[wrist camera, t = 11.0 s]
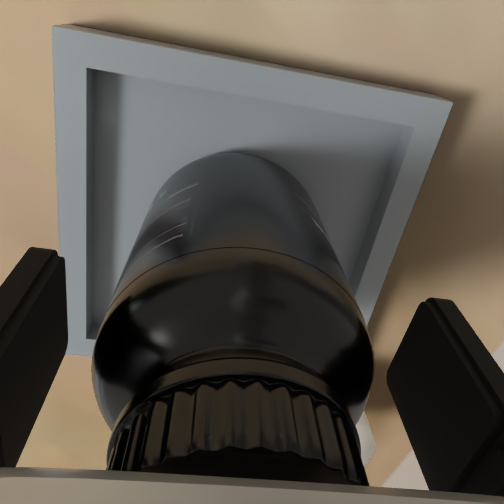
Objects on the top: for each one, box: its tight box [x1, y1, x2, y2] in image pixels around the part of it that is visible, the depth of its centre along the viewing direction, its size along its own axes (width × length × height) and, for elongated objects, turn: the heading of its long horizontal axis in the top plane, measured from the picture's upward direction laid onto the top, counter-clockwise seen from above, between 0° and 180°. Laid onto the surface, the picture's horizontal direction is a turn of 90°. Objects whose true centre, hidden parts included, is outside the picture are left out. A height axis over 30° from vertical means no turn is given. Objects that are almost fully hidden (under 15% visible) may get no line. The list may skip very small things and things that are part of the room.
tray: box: [52, 24, 453, 357], centre depth 18 cm, size 13×13×2 cm
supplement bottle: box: [91, 153, 374, 486], centre depth 13 cm, size 7×7×12 cm
